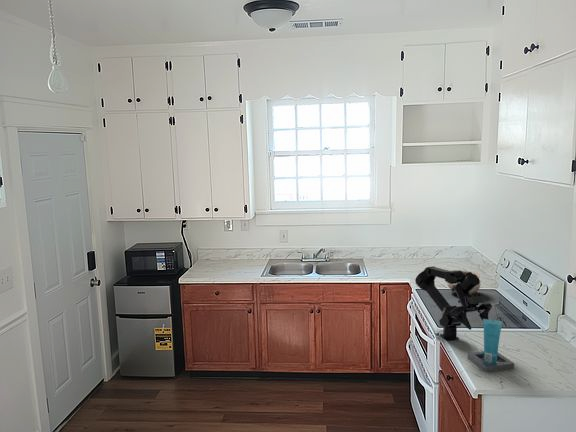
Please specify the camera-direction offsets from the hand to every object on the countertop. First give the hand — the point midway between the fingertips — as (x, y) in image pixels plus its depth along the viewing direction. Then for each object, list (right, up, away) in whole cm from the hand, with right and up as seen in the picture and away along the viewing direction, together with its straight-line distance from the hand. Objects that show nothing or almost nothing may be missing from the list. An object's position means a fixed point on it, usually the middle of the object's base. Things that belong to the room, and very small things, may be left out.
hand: (479, 328), depth 210 cm
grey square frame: (+2, -14, -6) cm, 15 cm away
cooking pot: (+23, +1, +83) cm, 86 cm away
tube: (+2, -14, -5) cm, 15 cm away
